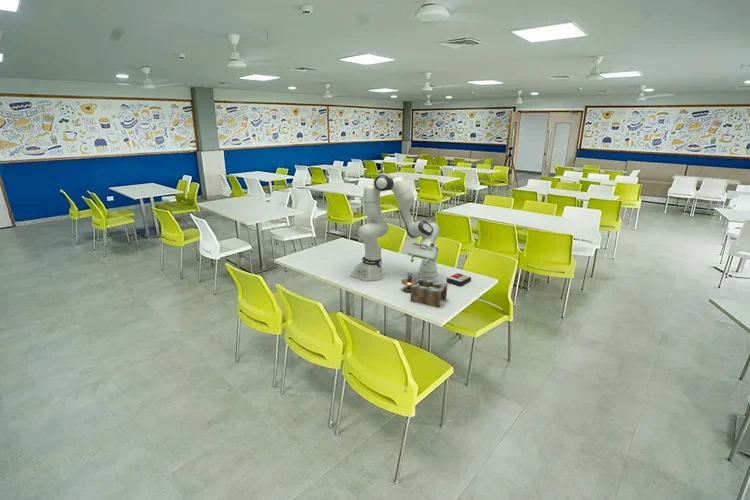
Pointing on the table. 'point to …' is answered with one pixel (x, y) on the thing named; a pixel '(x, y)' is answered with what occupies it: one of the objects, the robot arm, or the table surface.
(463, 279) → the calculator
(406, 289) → the spinning top
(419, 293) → the wood and metal frame
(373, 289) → the table surface
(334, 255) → the table surface
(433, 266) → the white ridged cone
